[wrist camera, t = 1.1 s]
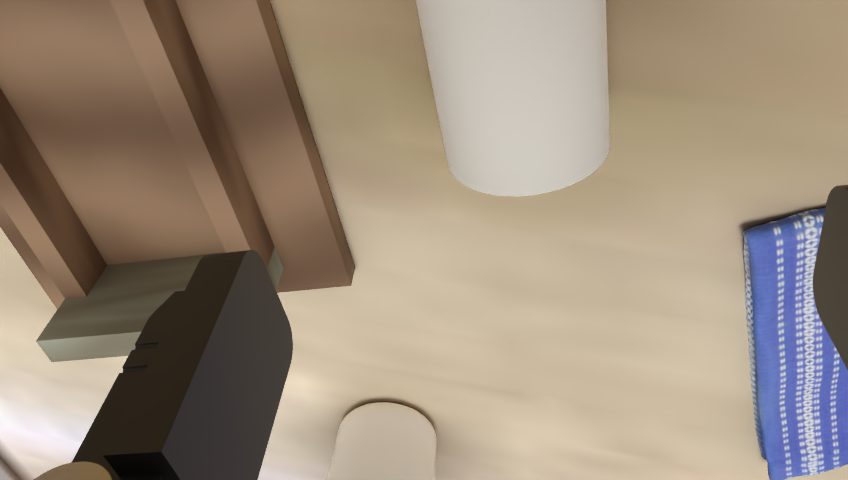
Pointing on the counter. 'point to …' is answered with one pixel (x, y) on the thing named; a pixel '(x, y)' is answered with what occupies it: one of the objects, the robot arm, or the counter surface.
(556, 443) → the counter surface
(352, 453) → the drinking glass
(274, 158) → the cradle
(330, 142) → the counter surface
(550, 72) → the roll
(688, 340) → the counter surface
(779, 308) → the dish towel
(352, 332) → the counter surface
